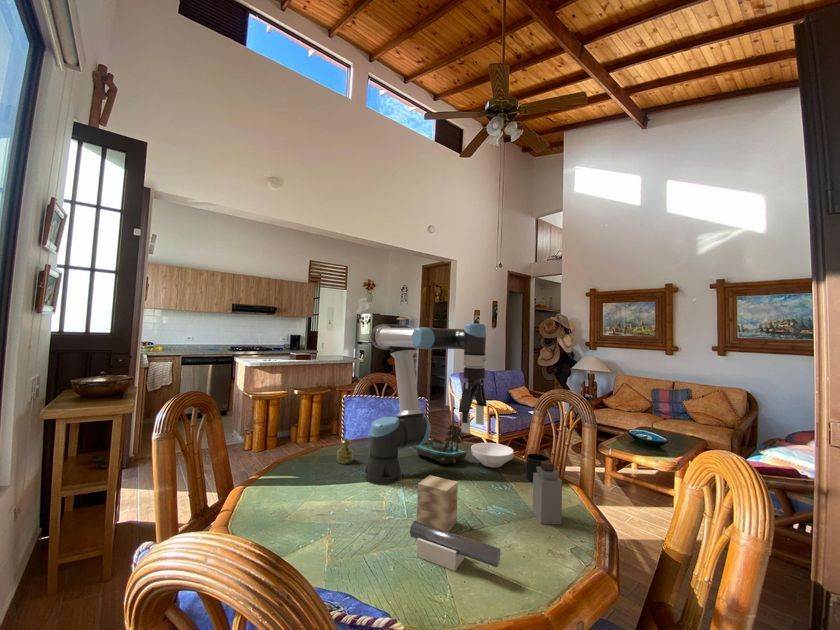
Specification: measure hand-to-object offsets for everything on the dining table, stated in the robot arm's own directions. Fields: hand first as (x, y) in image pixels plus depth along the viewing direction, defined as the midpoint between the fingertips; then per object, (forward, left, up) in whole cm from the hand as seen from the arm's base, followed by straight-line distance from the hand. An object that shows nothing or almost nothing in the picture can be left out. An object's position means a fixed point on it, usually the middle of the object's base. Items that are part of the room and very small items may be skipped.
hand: (473, 428), depth 125 cm
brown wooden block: (-5, -16, -27) cm, 32 cm away
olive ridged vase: (-65, +9, -27) cm, 71 cm away
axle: (+7, -31, -24) cm, 40 cm away
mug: (+16, +38, -27) cm, 49 cm away
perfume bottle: (+24, +6, -27) cm, 37 cm away
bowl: (-7, +44, -27) cm, 52 cm away
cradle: (+4, -31, -27) cm, 41 cm away
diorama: (-31, +38, -27) cm, 56 cm away
